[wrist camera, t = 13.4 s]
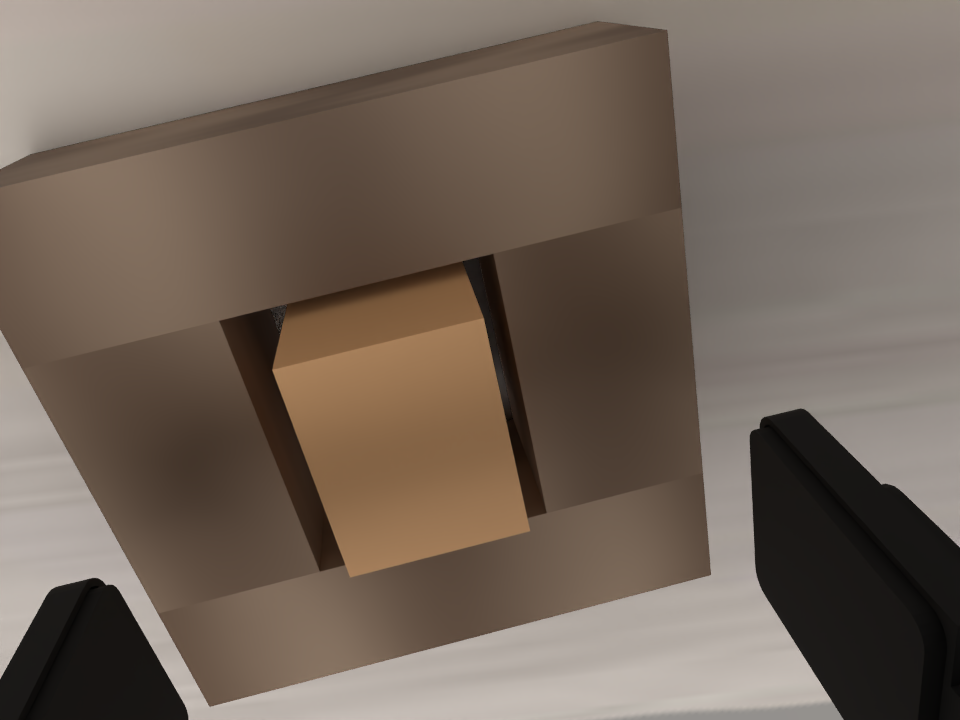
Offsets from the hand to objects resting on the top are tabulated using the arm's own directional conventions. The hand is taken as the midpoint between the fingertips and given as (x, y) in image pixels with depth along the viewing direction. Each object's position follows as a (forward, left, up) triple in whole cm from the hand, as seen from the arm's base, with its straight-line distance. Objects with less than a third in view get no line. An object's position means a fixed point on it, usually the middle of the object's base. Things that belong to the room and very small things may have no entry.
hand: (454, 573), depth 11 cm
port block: (+1, 0, -8) cm, 8 cm away
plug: (0, -1, -8) cm, 8 cm away
